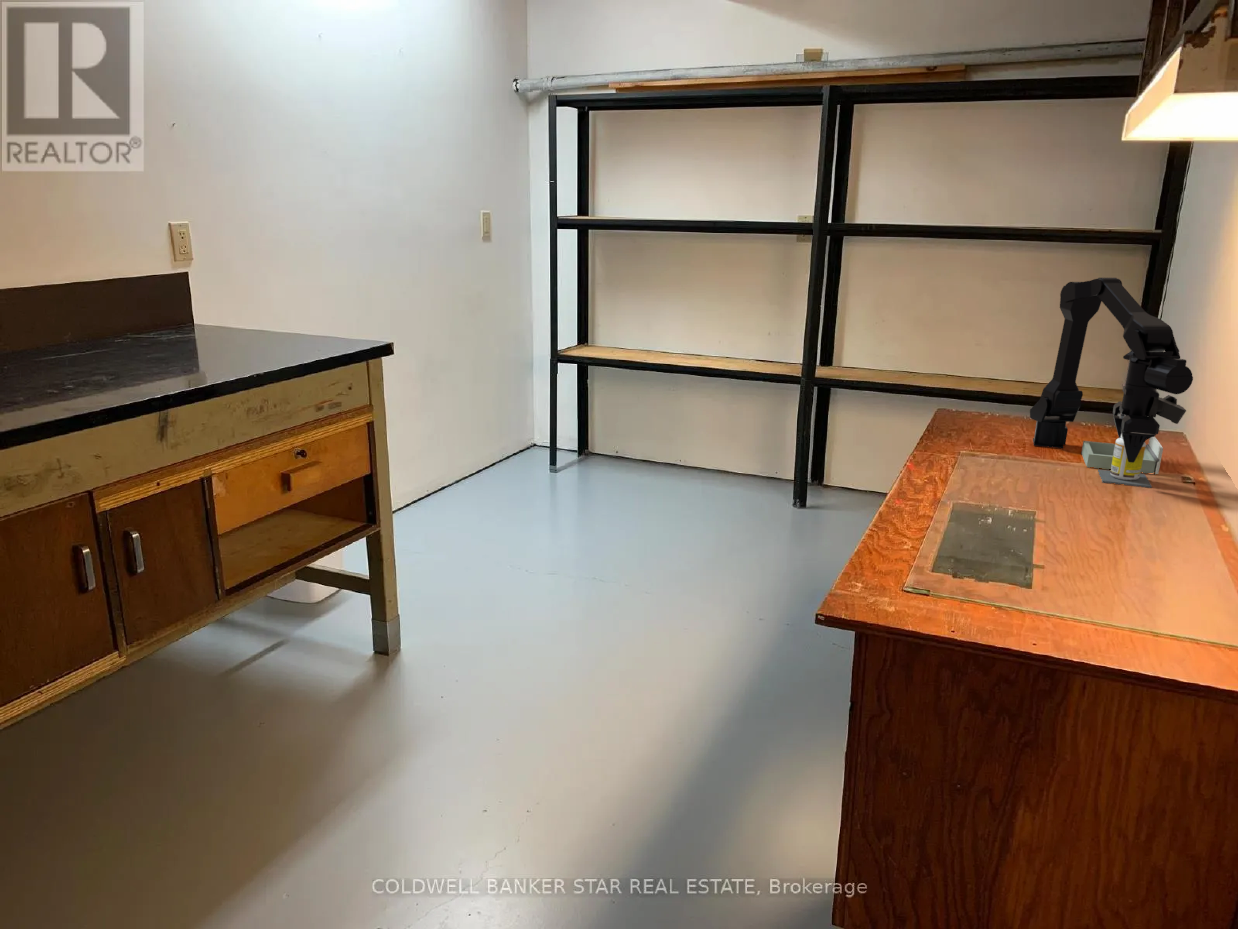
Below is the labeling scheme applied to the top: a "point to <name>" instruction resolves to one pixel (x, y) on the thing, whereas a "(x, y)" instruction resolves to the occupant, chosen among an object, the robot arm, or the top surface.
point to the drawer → (1103, 452)
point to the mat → (1108, 478)
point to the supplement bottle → (1125, 462)
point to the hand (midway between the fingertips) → (1127, 456)
